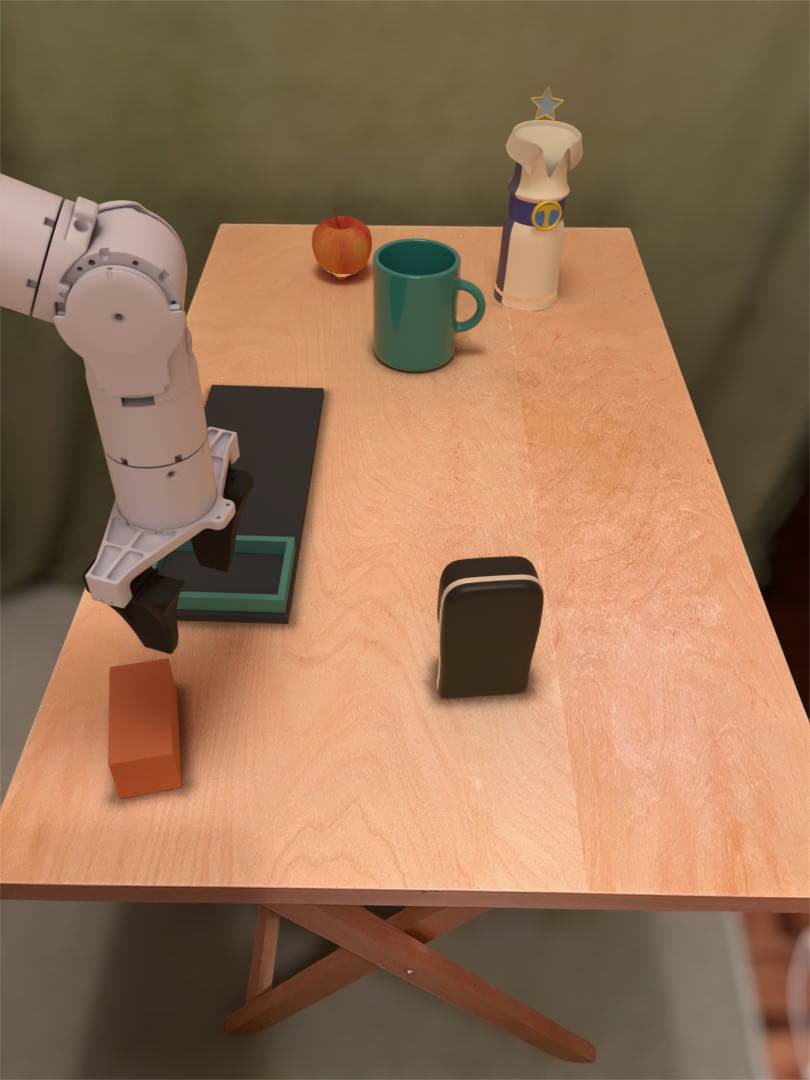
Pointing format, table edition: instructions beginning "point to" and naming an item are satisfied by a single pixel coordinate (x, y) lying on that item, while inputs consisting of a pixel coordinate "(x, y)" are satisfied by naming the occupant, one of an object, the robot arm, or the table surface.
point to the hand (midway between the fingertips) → (189, 604)
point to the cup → (418, 303)
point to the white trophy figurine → (536, 206)
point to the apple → (342, 245)
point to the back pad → (256, 506)
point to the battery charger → (487, 625)
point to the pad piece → (143, 728)
